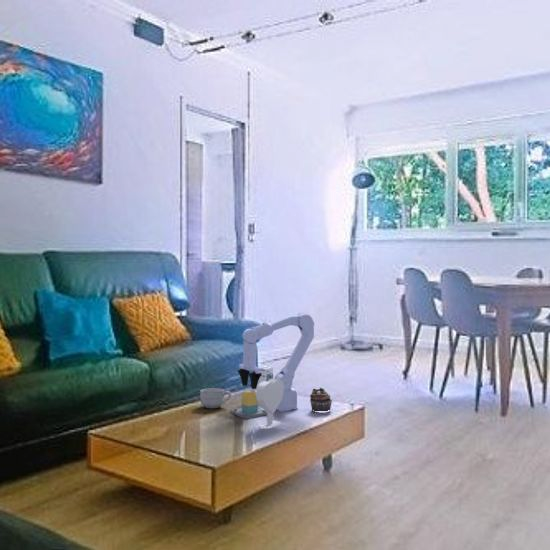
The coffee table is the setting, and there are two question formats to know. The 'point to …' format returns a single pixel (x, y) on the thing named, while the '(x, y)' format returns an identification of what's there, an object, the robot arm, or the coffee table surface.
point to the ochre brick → (249, 398)
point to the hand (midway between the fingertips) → (249, 387)
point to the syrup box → (265, 374)
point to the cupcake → (320, 400)
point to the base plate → (248, 415)
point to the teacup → (213, 397)
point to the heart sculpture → (270, 397)
